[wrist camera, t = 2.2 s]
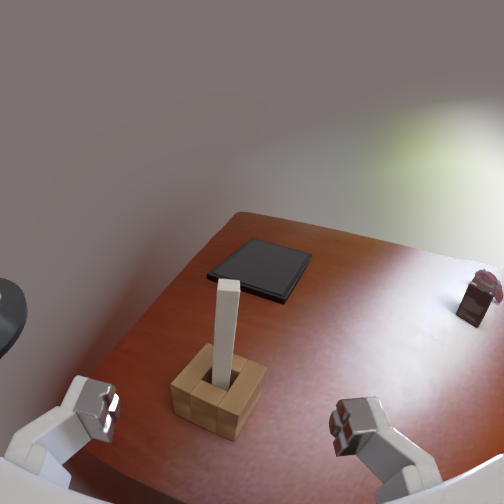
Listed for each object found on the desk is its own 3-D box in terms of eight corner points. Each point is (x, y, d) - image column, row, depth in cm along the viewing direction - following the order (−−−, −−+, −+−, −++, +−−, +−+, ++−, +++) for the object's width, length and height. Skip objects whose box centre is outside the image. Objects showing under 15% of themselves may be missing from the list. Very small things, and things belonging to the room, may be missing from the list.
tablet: (284, 304, 46) (285, 298, 46) (206, 278, 51) (207, 273, 50) (311, 258, 64) (312, 253, 63) (252, 241, 68) (252, 237, 67)
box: (483, 318, 47) (497, 288, 43) (477, 328, 43) (493, 296, 40) (461, 305, 51) (475, 275, 48) (454, 314, 48) (469, 282, 44)
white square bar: (210, 411, 27) (217, 289, 21) (211, 399, 28) (218, 278, 22) (226, 412, 27) (240, 291, 21) (226, 400, 28) (240, 280, 22)
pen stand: (174, 413, 26) (170, 383, 24) (206, 373, 32) (207, 342, 29) (234, 442, 24) (238, 415, 22) (260, 396, 29) (267, 366, 27)
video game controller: (471, 289, 62) (473, 267, 59) (481, 282, 61) (484, 261, 58) (493, 309, 53) (497, 287, 50) (503, 301, 53) (508, 280, 50)
